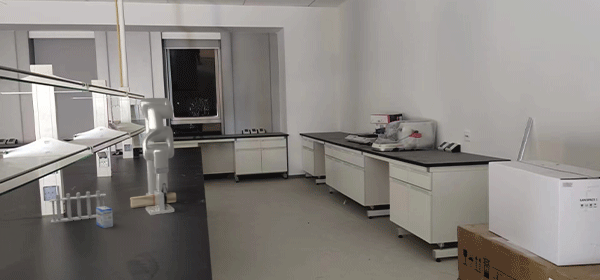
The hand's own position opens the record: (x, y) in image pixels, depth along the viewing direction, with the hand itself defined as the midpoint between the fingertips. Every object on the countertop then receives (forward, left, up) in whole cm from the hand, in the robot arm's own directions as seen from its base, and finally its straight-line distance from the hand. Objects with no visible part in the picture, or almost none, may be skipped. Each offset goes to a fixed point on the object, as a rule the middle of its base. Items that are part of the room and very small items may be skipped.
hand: (163, 202), depth 247 cm
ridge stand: (+16, -5, -1) cm, 17 cm away
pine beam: (0, -5, -1) cm, 5 cm away
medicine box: (+32, -33, -1) cm, 46 cm away
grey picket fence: (+11, -43, -1) cm, 44 cm away
